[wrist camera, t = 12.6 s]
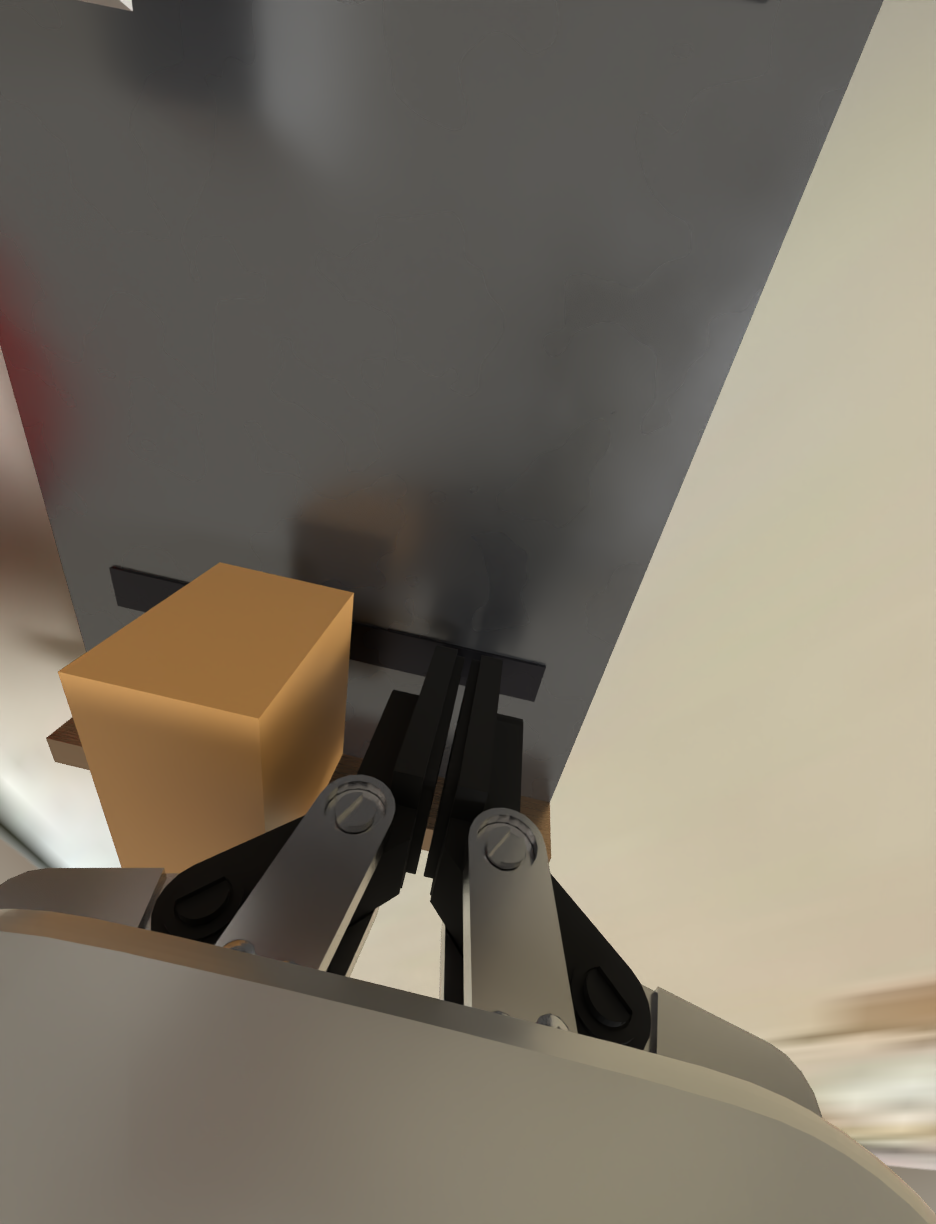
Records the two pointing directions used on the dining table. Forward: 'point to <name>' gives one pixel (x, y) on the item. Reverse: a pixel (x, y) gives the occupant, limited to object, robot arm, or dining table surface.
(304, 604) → the block
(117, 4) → the block
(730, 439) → the dining table surface
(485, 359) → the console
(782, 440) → the dining table surface
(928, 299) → the dining table surface
